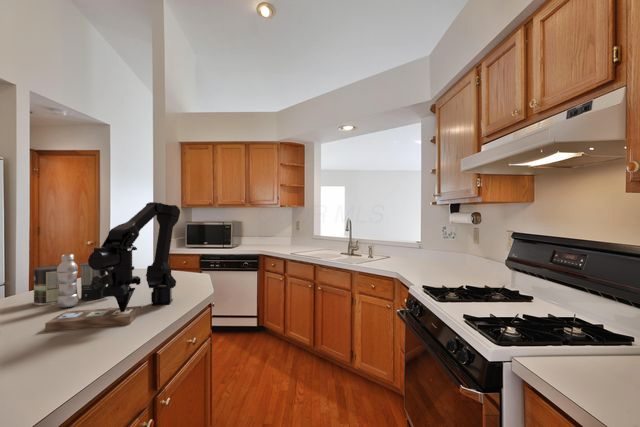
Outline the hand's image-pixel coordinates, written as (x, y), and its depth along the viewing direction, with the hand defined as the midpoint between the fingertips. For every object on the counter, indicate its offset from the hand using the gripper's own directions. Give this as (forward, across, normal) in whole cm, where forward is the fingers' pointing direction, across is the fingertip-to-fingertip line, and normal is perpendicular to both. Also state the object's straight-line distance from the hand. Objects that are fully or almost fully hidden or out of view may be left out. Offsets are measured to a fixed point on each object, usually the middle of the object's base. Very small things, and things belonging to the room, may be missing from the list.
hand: (122, 311), depth 107 cm
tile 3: (+2, 0, 0) cm, 2 cm away
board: (+3, 0, -8) cm, 8 cm away
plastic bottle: (+3, -22, -26) cm, 34 cm away
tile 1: (+2, 0, -8) cm, 8 cm away
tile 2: (+2, 0, -15) cm, 15 cm away
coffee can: (+3, -33, -36) cm, 49 cm away
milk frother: (+3, -38, -20) cm, 43 cm away
